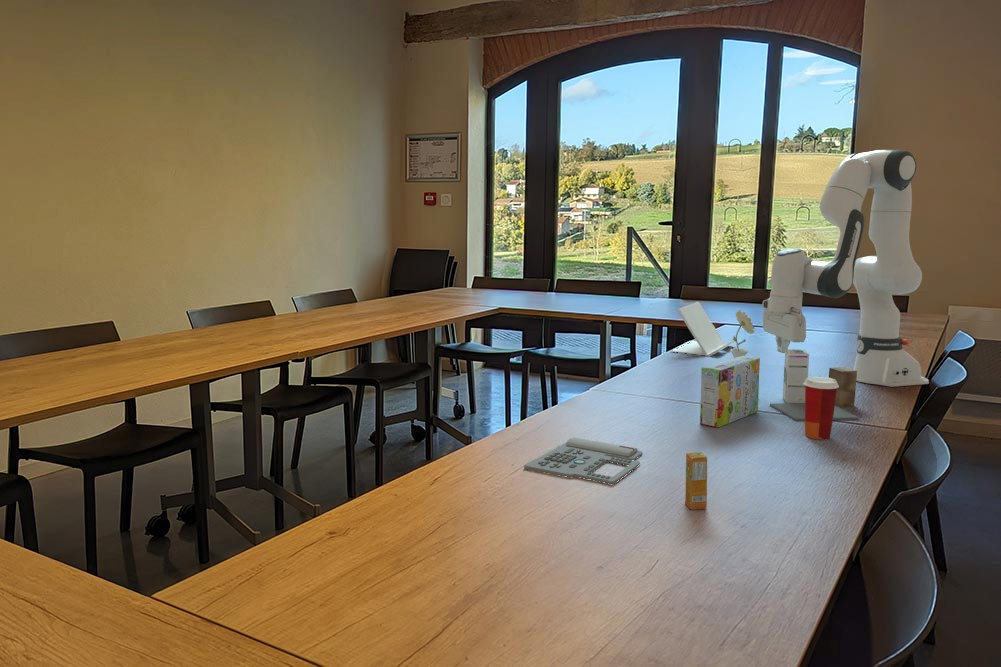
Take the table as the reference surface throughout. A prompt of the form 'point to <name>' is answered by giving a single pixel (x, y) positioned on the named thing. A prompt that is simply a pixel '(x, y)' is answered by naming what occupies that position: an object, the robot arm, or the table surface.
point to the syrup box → (795, 375)
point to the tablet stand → (700, 332)
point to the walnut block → (844, 385)
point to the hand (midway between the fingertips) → (782, 352)
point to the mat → (798, 411)
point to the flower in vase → (748, 327)
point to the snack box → (729, 390)
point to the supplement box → (696, 480)
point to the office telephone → (585, 459)
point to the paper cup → (819, 406)
